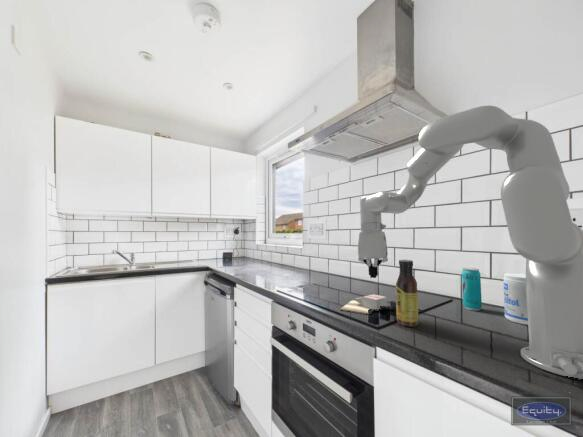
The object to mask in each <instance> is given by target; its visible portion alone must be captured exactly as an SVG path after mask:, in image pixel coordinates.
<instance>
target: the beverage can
mask: <svg viewBox="0 0 583 437" xmlns="http://www.w3.org/2000/svg"><path fill="white" fill-rule="evenodd" d="M481 283H482V280H481V272H480V268H475V267H462V270H461V289H462V305H463V307H464V309H466V310H469V311H472V312H473V311H475V312H477V311H481V308H482V306H483V304H482V301H483V300H482V288H481V287H482V284H481Z"/></svg>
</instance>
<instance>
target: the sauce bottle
mask: <svg viewBox="0 0 583 437" xmlns="http://www.w3.org/2000/svg"><path fill="white" fill-rule="evenodd" d="M398 264H399V265H398V266H399V273H398V274H399V275H398V277H397V280H396V283H395V301H396V302H395V305H396V307H395V308H396V322H397V323H398V324H399V325H400V326H404V327H412V328H415V327H417V326H418V324H419V296H418V295H419V294H418V293H419V292H418V282H417V279H416V278H415V277H414V272H413V267H414V261H413V260H412V259H398Z"/></svg>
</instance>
